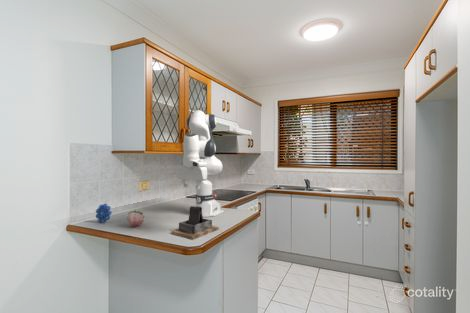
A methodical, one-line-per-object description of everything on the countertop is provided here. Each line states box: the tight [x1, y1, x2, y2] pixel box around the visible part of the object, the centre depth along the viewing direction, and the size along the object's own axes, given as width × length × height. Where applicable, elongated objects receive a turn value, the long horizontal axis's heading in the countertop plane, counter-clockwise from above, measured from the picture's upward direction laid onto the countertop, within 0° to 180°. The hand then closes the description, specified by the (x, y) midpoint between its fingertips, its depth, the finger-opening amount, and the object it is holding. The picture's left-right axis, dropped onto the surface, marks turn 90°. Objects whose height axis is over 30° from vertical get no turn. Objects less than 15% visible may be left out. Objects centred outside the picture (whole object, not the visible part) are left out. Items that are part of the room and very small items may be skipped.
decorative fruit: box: [126, 209, 145, 228], centre depth 143 cm, size 9×8×10 cm
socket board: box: [171, 218, 220, 241], centre depth 133 cm, size 20×16×6 cm
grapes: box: [95, 203, 112, 223], centre depth 152 cm, size 12×7×12 cm, turn 73°
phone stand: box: [187, 205, 204, 225], centre depth 133 cm, size 9×6×12 cm, turn 162°
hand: (191, 187), depth 135 cm, fingers open, 8 cm apart
